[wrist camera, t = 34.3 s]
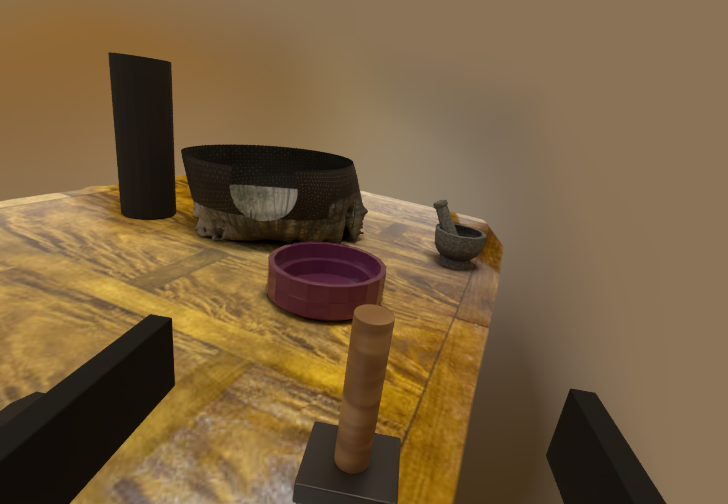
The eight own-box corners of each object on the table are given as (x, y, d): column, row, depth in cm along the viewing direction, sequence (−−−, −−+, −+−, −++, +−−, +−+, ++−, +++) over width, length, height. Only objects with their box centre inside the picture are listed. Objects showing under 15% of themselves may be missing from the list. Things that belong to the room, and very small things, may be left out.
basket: (342, 273, 68) (353, 178, 62) (154, 237, 72) (150, 145, 67) (370, 230, 94) (380, 160, 89) (232, 205, 99) (233, 137, 93)
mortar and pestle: (483, 264, 82) (497, 207, 78) (471, 277, 74) (487, 214, 70) (431, 249, 86) (442, 194, 82) (415, 260, 78) (426, 200, 74)
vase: (156, 222, 80) (148, 57, 70) (109, 214, 81) (94, 50, 71) (185, 211, 89) (181, 64, 79) (142, 204, 90) (133, 58, 80)
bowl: (394, 290, 64) (399, 258, 62) (355, 339, 49) (361, 298, 47) (303, 265, 69) (305, 234, 67) (242, 302, 54) (243, 264, 52)
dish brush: (391, 484, 31) (428, 302, 25) (386, 557, 26) (431, 349, 20) (309, 467, 31) (329, 285, 26) (288, 536, 26) (308, 327, 21)
